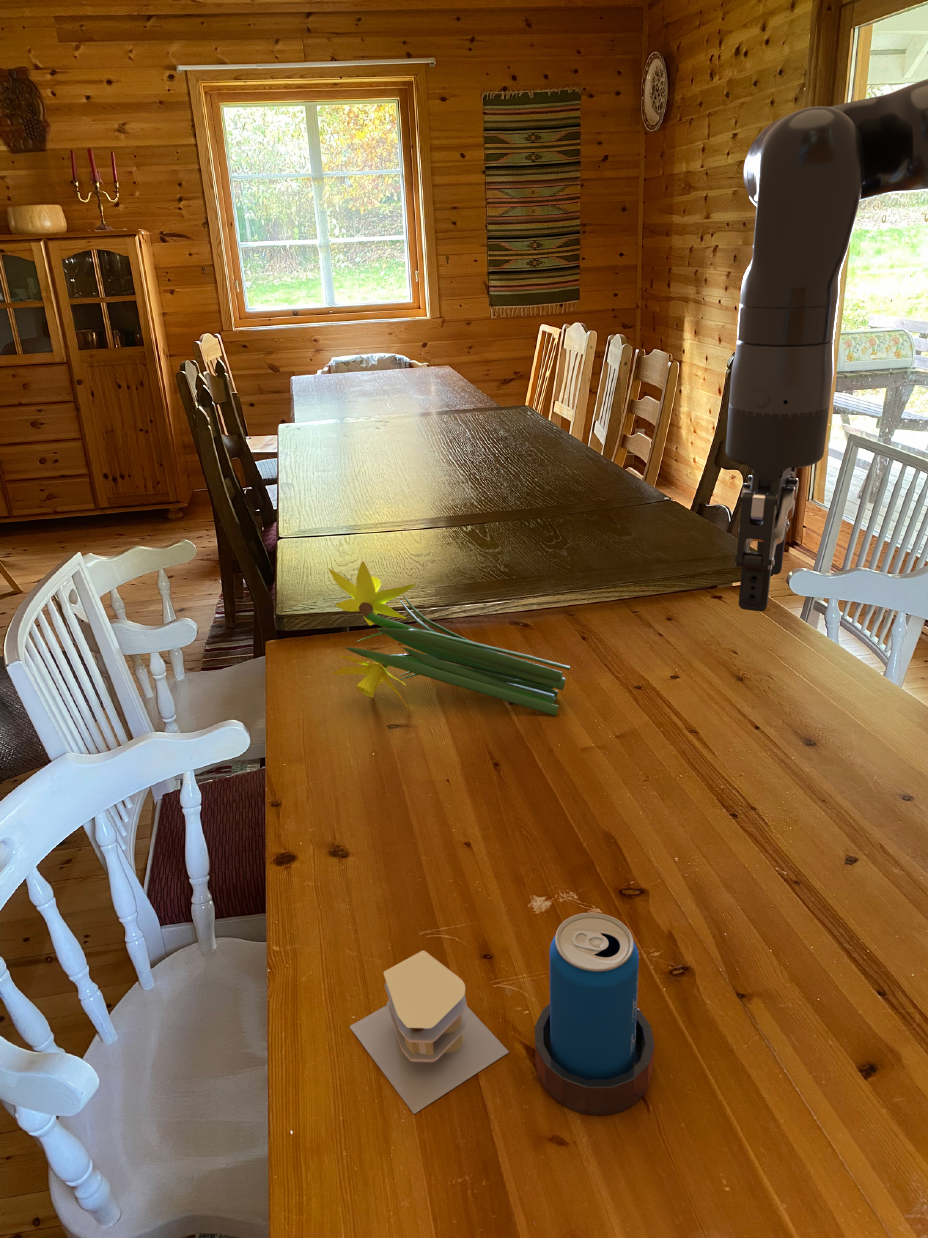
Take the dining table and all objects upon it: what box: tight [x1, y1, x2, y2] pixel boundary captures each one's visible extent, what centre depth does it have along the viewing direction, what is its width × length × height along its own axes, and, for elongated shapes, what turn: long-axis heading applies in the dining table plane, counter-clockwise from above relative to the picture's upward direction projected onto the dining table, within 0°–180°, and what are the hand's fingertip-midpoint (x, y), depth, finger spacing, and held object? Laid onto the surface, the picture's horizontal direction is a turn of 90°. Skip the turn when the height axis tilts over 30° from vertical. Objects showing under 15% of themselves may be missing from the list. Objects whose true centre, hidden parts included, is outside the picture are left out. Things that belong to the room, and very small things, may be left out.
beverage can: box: [548, 912, 640, 1080], centre depth 69 cm, size 6×6×12 cm
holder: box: [534, 1003, 656, 1117], centre depth 71 cm, size 9×9×3 cm
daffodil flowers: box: [328, 561, 571, 717], centre depth 122 cm, size 17×15×35 cm
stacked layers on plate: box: [349, 950, 510, 1115], centre depth 73 cm, size 10×9×6 cm
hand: (760, 589), depth 78 cm, fingers open, 8 cm apart
